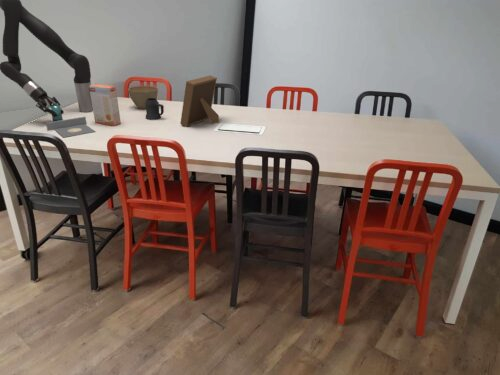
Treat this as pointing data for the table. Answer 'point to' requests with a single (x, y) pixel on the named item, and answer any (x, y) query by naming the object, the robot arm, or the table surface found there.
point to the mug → (153, 109)
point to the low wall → (66, 123)
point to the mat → (74, 130)
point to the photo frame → (199, 101)
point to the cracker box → (105, 104)
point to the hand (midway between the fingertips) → (59, 114)
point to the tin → (58, 111)
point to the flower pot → (142, 95)
